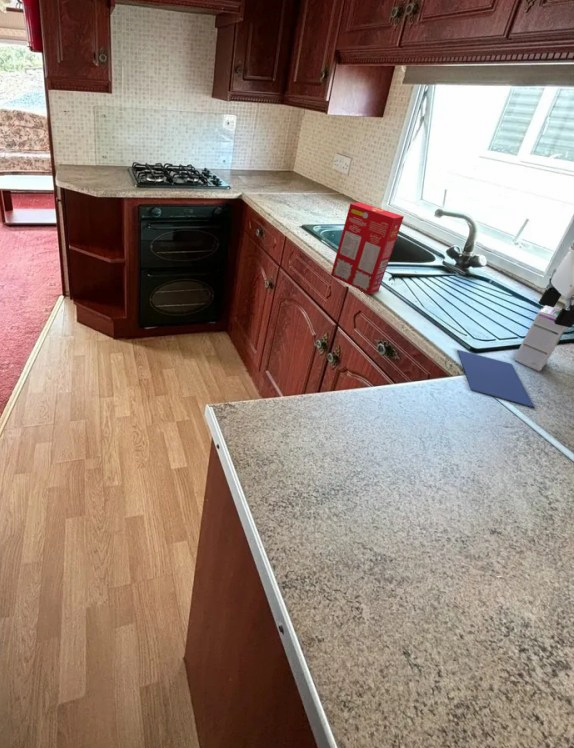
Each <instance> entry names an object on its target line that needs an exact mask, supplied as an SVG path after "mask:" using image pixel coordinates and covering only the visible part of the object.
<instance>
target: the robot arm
mask: <svg viewBox="0 0 574 748" xmlns="http://www.w3.org/2000/svg"><path fill="white" fill-rule="evenodd" d="M548 281H549V282H548V284H547V285H546V287H545V290H544V292H543V294H542V295H541V297H540V299H539V301H538V304H539V306H543V307H544V306H545V305H547V306H550V307H553V308H556V305H557V303H558V301H559V300H560V298H561V297H563V298H565V307H562V308H561V309H560V310H561V311H560V313H559V314H558V316H557V318H556V319H555V321H554V323H555V324H557V325H561V326H565V327H567V328H572V327H573V325H574V304H573V302H574V240H573V241H572V242H571V244H570V246H569V248H568V251H567V253H566V254H565V255H564V258H563V259H562V260H561V262H560V263H559V265H558V266H557V267H556V268H555V269H553V271H552V274H551V276H550V278H549V280H548Z"/></svg>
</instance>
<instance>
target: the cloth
mask: <svg viewBox="0 0 574 748" xmlns="http://www.w3.org/2000/svg"><path fill="white" fill-rule="evenodd" d="M457 354H458V357H459V359H460V362H461V366H462V368H463V371H464V374H465V376H466V379H467V383H468V385H469V388H470V391H473V392H476V393H480V394H483V395H487V396H490V397H494V398H497V399H501V400H504V401H508V402H510V403H511V402H512V403H515V404H518V405H522V406H526V407H528V408H529V407H530V408H532V409H534V408H535V405H534V403H533V401H532V399H531V398H530V396H529V394H528V392H527V389H526V388H525V386H524V385H523V382H522V381H521V379H520V377H519V375H518V373H517V371H516V369H515V368H514V366H513V364H512V363H510V362H506V361H503V360H498V359H495V358H491V357H486V356H483V355H479V354H476V353H473V352H472V353H471V352H467V351H463V350H460V349H457Z"/></svg>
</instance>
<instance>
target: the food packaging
mask: <svg viewBox="0 0 574 748" xmlns="http://www.w3.org/2000/svg"><path fill="white" fill-rule="evenodd" d="M403 220H404V215H401V214H399V213H395V212H392V211H389V210H385V209H382V208H379V207H376V206H373V205H370V204H367V203H364V202H361V201H357V202H352V203H350V204H349V207H348V210H347V215H346V218H345V222H344V225H343V229H342V232H341V236H340V240H339V244H338V247H337V251H336V254H335V257H334V262H333V265H332V270H331V272H330V276H331V277H333V278H335V279H337V280H339V281H341V282H343V283H345V284H347V285H349V286H351V287H354V288H355V289H357V290H359V291H362V292H363V293H365V294H367V295H373V294H375V293H377V292H379V291H380V289H381V285H382V282H383V279H384V277H385V273H386V271H387V269H388V264H389V261H390V258H391V256H392V253H393V249H394V247H395V244H396V241H397V238H398V236H399V232H400V229H401V226H402V223H403Z"/></svg>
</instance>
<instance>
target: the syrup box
mask: <svg viewBox="0 0 574 748" xmlns="http://www.w3.org/2000/svg"><path fill="white" fill-rule="evenodd" d="M561 310H562V309H560V308H557V307H550V306H547V305H545V306H543V307H541V309H539V310H538V312H537V314H536V316H535V318H534V319H533V321H532V323H531V325H530V327H529V329H528V331H527V333H526V334H525V336H524V338H523V340H522V342H521V344H520V346H519V347H518V350H517V351H516V353H515V355H514V357H513V360H514V361H516V362H518V363H520V364H522V365H524V366H526V367H528V368H531V369H533V370H536V371H538V372H540V371H541V370H542V369H544V367H545V366H546V364H547V363H548V361H549V359H550V358H551V356H552V354H553V353H554V351H555V349H556V347H557V346H558V344H559V342H560V341H561V339H562V337H563V335H564V333H565V332H566V330H567V328H568V327H565V326H561V325H557V324H555V323H554V321H555V319H556V318H557V316H558V314H559V313H560V311H561Z"/></svg>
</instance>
